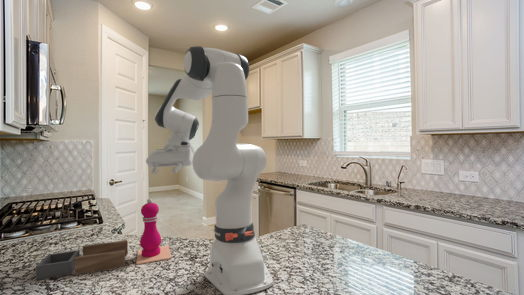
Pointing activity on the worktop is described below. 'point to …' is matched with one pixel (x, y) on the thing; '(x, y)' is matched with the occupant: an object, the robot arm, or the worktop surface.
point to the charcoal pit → (56, 265)
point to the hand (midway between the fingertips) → (163, 172)
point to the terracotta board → (162, 256)
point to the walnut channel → (101, 257)
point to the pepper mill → (150, 230)
